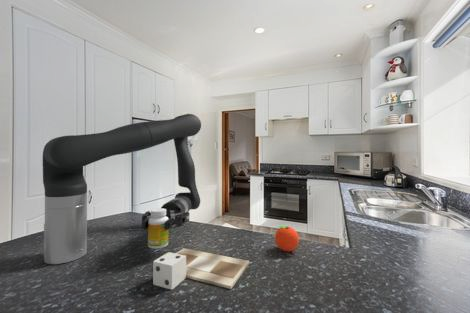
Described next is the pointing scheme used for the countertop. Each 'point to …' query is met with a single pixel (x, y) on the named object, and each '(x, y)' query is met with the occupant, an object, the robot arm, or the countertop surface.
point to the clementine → (286, 238)
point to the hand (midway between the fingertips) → (155, 225)
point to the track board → (213, 268)
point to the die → (169, 270)
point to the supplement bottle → (157, 229)
